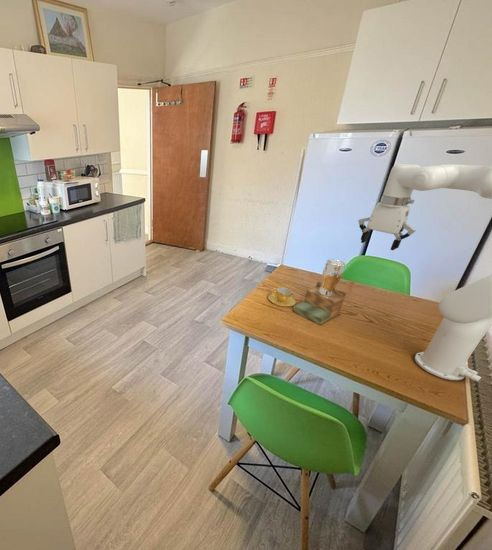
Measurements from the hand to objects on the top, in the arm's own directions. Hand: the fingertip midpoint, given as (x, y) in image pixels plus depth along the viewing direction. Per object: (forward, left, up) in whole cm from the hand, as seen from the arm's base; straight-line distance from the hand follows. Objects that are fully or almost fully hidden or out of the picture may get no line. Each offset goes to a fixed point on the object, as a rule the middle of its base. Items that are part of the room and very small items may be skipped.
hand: (377, 245), depth 113 cm
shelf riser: (+10, +7, -34) cm, 36 cm away
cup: (+25, +11, -34) cm, 44 cm away
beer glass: (+10, +4, -25) cm, 27 cm away
